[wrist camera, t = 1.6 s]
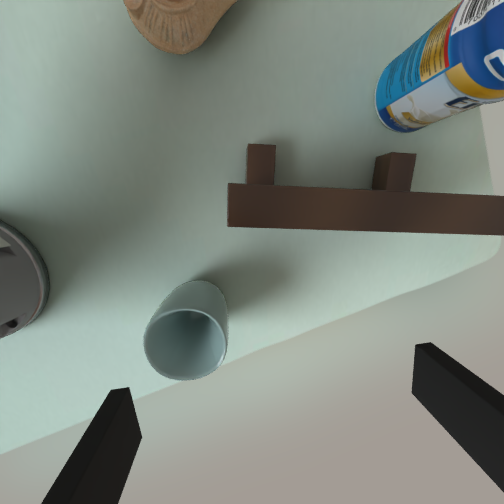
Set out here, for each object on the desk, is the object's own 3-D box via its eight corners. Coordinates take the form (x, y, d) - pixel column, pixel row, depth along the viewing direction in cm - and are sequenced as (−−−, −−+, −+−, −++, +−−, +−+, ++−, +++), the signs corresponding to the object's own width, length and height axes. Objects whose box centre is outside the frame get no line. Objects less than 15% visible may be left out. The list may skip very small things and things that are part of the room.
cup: (233, 322, 33) (233, 374, 23) (176, 330, 32) (152, 388, 23) (224, 268, 31) (220, 301, 21) (164, 277, 31) (132, 314, 21)
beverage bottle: (426, 40, 27) (935, -375, 7) (447, 113, 29) (895, -62, 9) (359, 78, 27) (678, -223, 8) (385, 148, 29) (690, 49, 10)
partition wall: (229, 214, 29) (227, 226, 17) (231, 148, 28) (229, 106, 15) (401, 220, 31) (515, 235, 19) (412, 158, 30) (545, 129, 17)
